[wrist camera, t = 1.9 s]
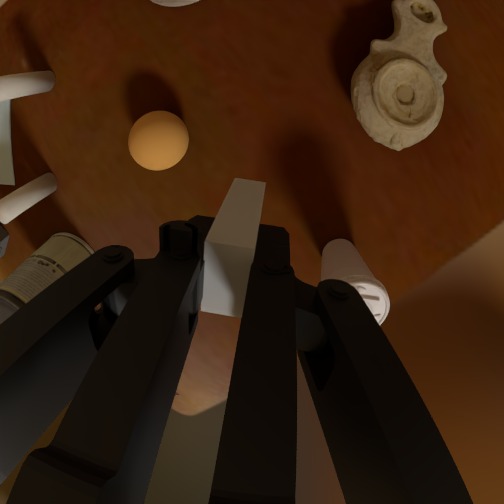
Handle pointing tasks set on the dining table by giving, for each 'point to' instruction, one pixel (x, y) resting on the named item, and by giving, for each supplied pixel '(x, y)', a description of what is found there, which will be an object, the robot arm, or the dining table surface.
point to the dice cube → (3, 240)
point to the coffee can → (41, 271)
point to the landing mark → (6, 145)
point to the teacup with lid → (174, 2)
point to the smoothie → (355, 275)
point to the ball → (158, 140)
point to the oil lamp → (402, 78)
